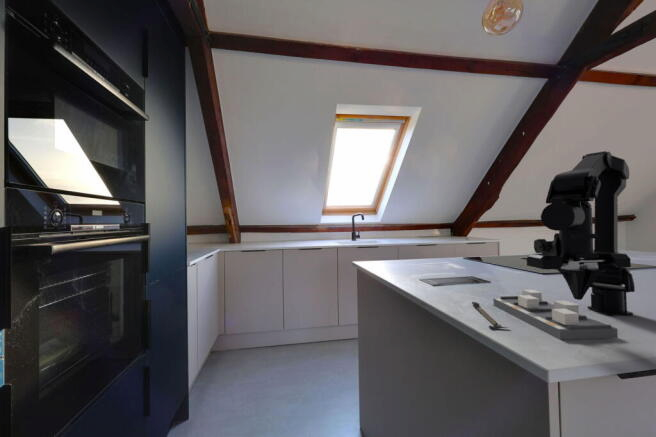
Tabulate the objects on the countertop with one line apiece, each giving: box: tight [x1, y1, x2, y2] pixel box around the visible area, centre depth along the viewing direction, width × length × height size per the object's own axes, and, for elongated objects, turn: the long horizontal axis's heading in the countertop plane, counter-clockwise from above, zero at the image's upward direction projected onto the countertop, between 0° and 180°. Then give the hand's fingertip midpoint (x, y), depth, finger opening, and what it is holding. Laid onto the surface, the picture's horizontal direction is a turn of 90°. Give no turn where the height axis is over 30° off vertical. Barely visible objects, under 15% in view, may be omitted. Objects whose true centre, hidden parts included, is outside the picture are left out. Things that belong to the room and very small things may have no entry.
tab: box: [517, 294, 539, 308], centre depth 77 cm, size 3×4×2 cm
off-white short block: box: [552, 309, 579, 325], centre depth 65 cm, size 3×4×2 cm
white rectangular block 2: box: [553, 300, 580, 315], centre depth 71 cm, size 3×4×2 cm
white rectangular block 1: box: [521, 289, 543, 301], centre depth 83 cm, size 3×4×2 cm
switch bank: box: [492, 295, 619, 341], centre depth 74 cm, size 12×25×3 cm, turn 0°
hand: (577, 299), depth 65 cm, fingers closed
